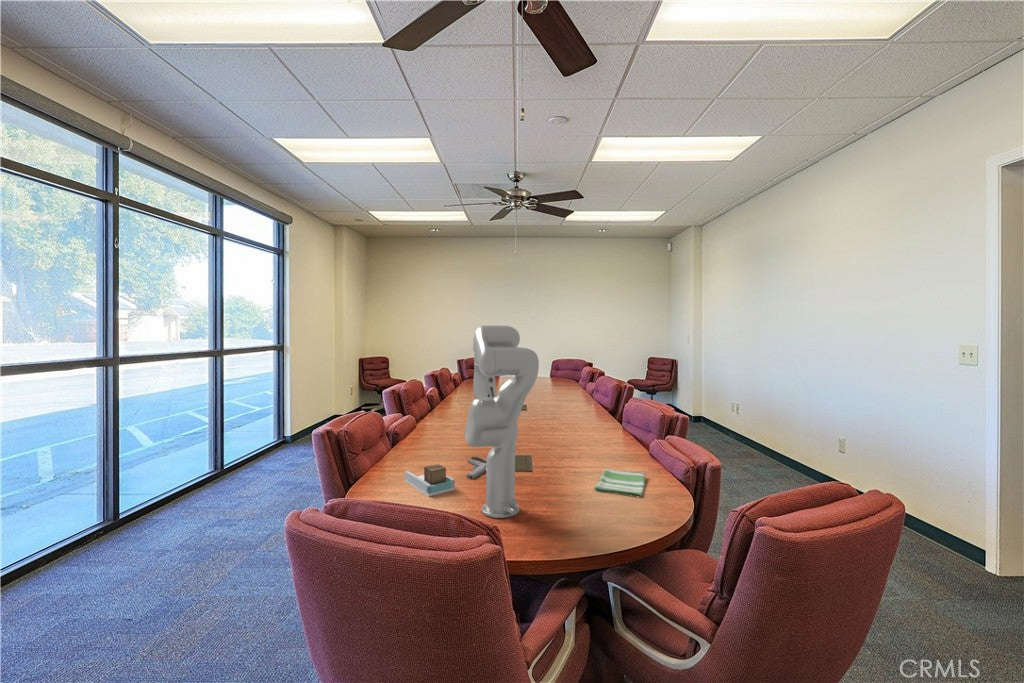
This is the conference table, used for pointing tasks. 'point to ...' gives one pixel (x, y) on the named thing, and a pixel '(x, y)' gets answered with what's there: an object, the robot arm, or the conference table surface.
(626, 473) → the dish towel
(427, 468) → the block
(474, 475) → the pistol
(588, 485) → the conference table surface
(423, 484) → the bay
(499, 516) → the robot arm
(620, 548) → the conference table surface
